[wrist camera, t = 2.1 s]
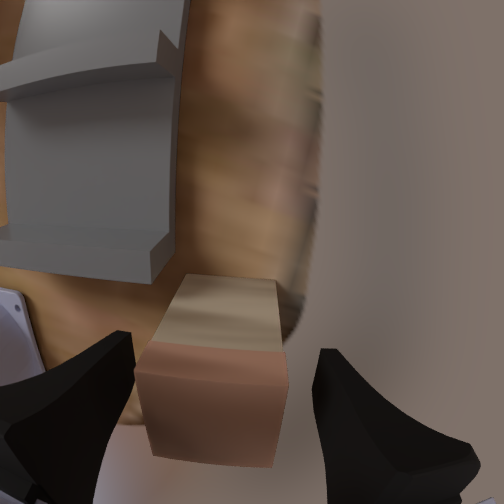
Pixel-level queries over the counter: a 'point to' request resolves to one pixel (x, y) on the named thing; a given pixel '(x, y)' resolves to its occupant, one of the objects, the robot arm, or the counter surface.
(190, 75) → the counter surface
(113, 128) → the gray i-beam stand
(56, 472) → the robot arm
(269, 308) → the peg
